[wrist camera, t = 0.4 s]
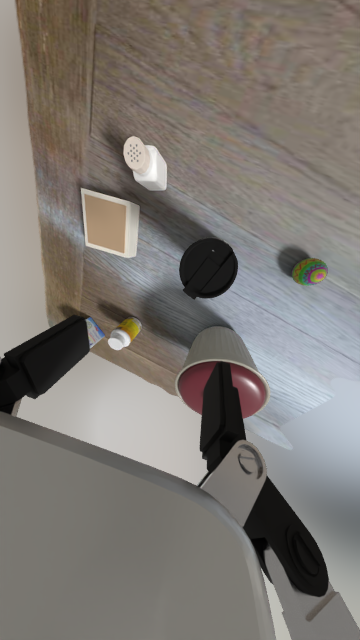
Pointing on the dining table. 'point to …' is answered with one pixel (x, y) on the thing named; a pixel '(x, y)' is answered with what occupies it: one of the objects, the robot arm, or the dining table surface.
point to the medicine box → (93, 332)
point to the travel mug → (208, 268)
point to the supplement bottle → (124, 333)
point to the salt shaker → (146, 164)
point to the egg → (309, 271)
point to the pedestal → (110, 223)
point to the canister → (202, 361)
